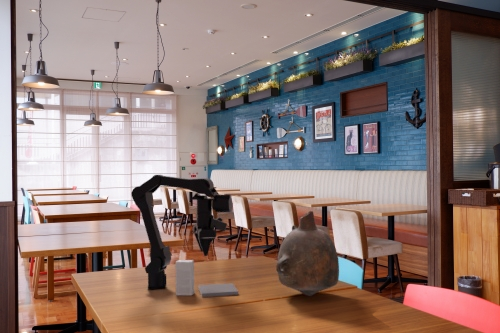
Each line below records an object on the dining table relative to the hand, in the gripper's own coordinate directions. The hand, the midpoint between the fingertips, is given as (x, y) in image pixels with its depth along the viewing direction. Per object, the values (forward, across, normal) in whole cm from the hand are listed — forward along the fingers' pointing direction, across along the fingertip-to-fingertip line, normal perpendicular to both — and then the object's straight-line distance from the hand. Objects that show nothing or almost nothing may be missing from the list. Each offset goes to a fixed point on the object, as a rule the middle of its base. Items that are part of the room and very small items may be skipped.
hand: (204, 253), depth 184 cm
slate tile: (+13, -5, -4) cm, 15 cm away
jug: (+13, -20, -34) cm, 41 cm away
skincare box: (+14, -5, +8) cm, 16 cm away
